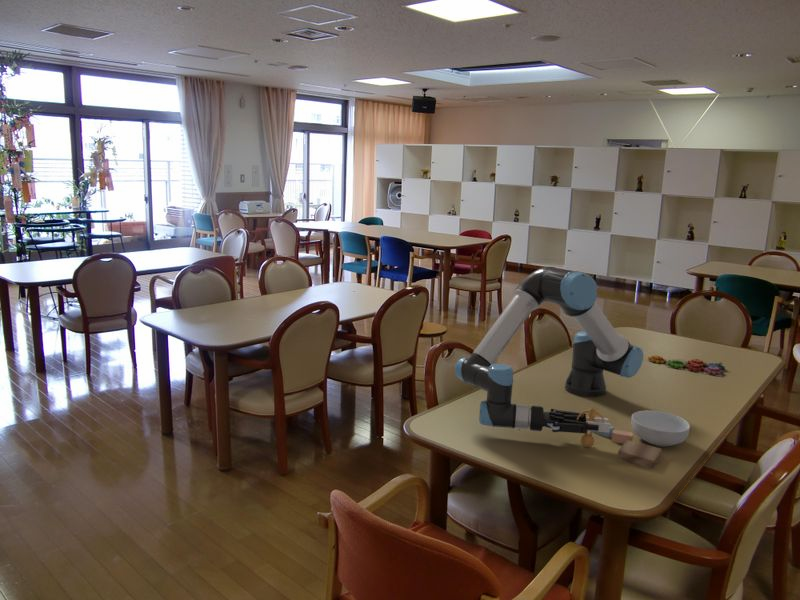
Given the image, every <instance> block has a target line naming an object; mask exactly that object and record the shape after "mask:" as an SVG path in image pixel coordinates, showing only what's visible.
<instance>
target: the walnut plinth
mask: <svg viewBox="0 0 800 600" xmlns="http://www.w3.org/2000/svg"><path fill="white" fill-rule="evenodd" d="M661 457H662V448H660V447H658V446H654V445H653V446H652V445H649V444H645V443H640V442H637V441H633V440H632V441H630V440H627V441H626V442H625V443H623V445H621V447H620V449H618V450H617V460H618V461H621V462H625V463H629V464H633V465H635V466H636V465H637V466H639V467H644V468H647V469H651V470H654V468H655V467H656V466H657V464H658V462H659V461H660V459H661Z"/></svg>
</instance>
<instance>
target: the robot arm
mask: <svg viewBox="0 0 800 600" xmlns="http://www.w3.org/2000/svg"><path fill="white" fill-rule="evenodd" d="M597 286H598V285H597V282H596V281H595V279H594V278H593V277H592V276H591V275H589V274H587V273H584V272H582V271H579V270H569V269H565V268H559V267H558V268H557V267H555V266H544V267H541V268H538V269H536V270H534V271H533V272H531V273H530V274H529V275H527V276H526V277H525V278H524V279H523V280H522V281H521V282H520V283H519V284H518V286H517V287H516V288H515V289H514V290H513V297H512V299H511V300H510V301H509V303H508V304H507V305H506V307H505V308H504V310H503V311H502V312H501V313H500V315H499V316H498V317H497V319H496V321H495V322H494V323H493V325H492V326H491V327H490V329H489V330H488V331H487V333H486V334H485V336H484V337H483V338H482V339H481V341H480V343H478V345H477V346H476V348H475V349H474V351H473V352H472V353H471V355H470V356H469V357H462V358H460V359H458V361H457V362H456V363H455V366H454V373H455V376H456V378H457V379H459V380H461V381H462V382H464V383H466V384H468V385H472V386H474V387H476V388H478V389H481V390H483V391H484V392H486V400H482V401H481V402H480V405H479V415H478V422H479V423H480V425H483V426H488V427H493V428H495V427H497V428H507V429H517V430H518V431H521V430H526V431H527V430H528V429H529V430H530V431H532V432H533V431H534V432H542V431H543V427H545V428H549V429H551V432H552V433H574V434H586V433H587V434H588V432H587V430H588V431H590V432H591V431H592V432H593V431H597V432H607V433H609V432H610V426H611V423H610V422H609V418H606V417H605V418H604V417H603V419H604V423H603V421H602V417H596V416H595V417H594V420H596V422H592V421H587V418H588V419H589V416H587V414H586V412H584V413H582V414H581V416H580V417H579V419H578V421H577V417H578V416H579V415H580V413H581V412H576V411H570V410H569V411H566V410H560V409H556V408H550V411H544V407H543V406H541V405H532V406H530V405H529V404H521V403H512V395H513V385H514V371H513V370H514V369H513V368H512V367H511V366H510V365H508V364H503V363H495V362H496V360H498V358H499V356H501V354H502V352H503V351H504V350H505V348H506V347H507V345H508V344H510V342H511V340H512V339H513V337H514V336H515V335H516V333H517V332H518V331H519V329H520V328H521V326H522V325H523V324H524V322H525V321H526V320H527V318H528V317H529V315H530V314H531V312H532V311H533V310H536V309H538V308H539V307H540V305H541V304H543V303H544V302H547V303H550V304H555V305H557V306H559V307H560V308H561V310H562V311H563V312H564V314H565V315H567V316H568V317H572V318H574V319H575V321H576V323H578V325H579V326H580V327H581V329H582V330H583V331H578V332H576V333H575V335H574V338H573V342H572V343H573V345H572V357H571V358H572V359H571V369H570V371H569V373H568V376H567V377H566V380H565V381H564V383H565V384H564V389H565V390H566V391H568V392H569V393H571V394H573V395H576V396H582V397H588V398H590V397H592V398H593V397H594V398H595V397H596V398H598V397H602V396H605V395H606V392H607V385H606V384H607V383H606V381H605V376H604V371H606V372H608V373H612V374H613V375H614V374H615V375H618V376H619V377H620V376H621V377H623V378H624V377H625V378H633V377H635V376H636V374H638V372H640V368H641V367H642V364H643V362H644V352H643V351H644V350H643V349H642V348H641V347H639V346H637V345H633V344H631V343H630V341H629V340H628V338H627V337H626V336H624V335H623V334H621V333H619V332H617V331H616V329H615V328H614V327H613V325H612V324H611V323H610V320H608V318H607V316H606V315H605V314H604V312H603V310H602V309H601V308H600V307H599V305H598V304H597V302H596V301H597V297H598V291H597V290H598V287H597ZM586 421H587V422H586Z"/></svg>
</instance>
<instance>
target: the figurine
mask: <svg viewBox="0 0 800 600" xmlns="http://www.w3.org/2000/svg"><path fill="white" fill-rule="evenodd" d="M579 413H580V415H579V416H578V417H577V421H578V419H579V417H580V416H581V414H582V413H588V417H589V419H588V418H587V421H592V422H596V420H594V417H596V415H598V416H599V417H600V418H602V421H603V423H604V419H603V418H604V415H602V414H601V413H600V412H599V411H598V410H597V409H596V408H594V407H591V408H589V409H585V410H582V411H581V412H579ZM587 421H586V422H587ZM580 443H581V445H582V446H583V447H585V448H590V447H592V446H594V443H595V438H594V436H593V431H590V433H589V432H588V430H587V433H586V434H585V433H583V435H581V437H580Z"/></svg>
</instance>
